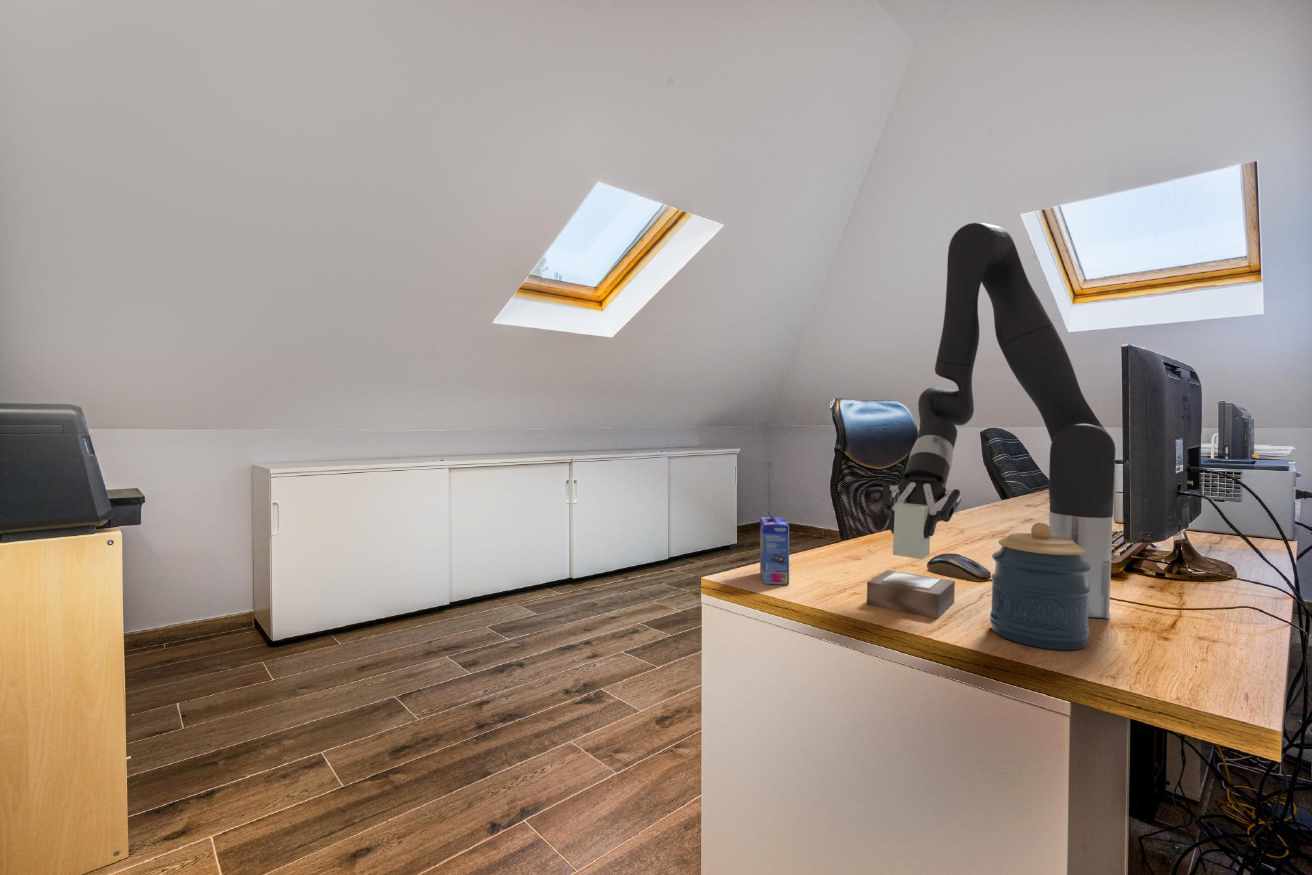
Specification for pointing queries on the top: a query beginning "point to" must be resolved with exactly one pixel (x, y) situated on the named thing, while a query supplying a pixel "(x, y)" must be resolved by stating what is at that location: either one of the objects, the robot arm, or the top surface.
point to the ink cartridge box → (774, 550)
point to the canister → (1041, 590)
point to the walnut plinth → (911, 593)
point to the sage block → (910, 531)
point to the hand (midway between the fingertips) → (909, 533)
